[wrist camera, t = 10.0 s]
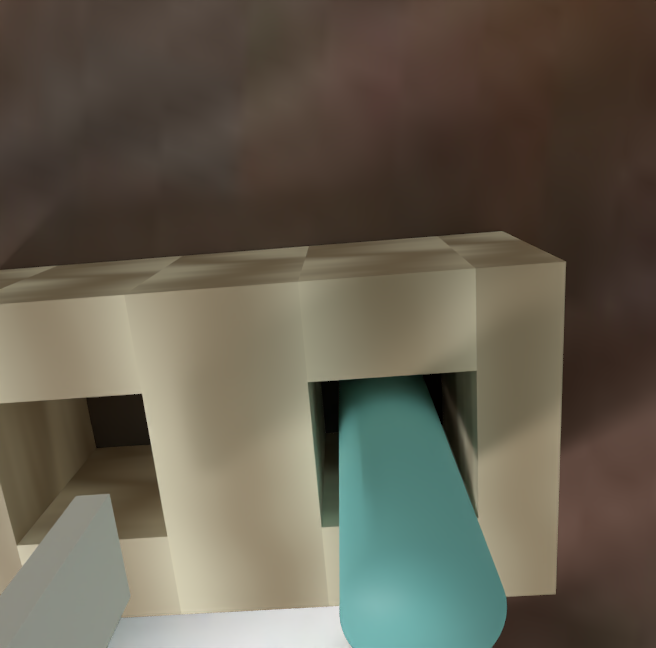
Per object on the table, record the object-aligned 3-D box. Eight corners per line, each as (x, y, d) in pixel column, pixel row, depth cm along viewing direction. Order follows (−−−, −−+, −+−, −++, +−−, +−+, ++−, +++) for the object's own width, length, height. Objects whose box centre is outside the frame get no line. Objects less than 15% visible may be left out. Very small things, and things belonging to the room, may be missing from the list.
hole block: (54, 512, 24) (-35, 625, 18) (-4, 270, 21) (-130, 314, 16) (502, 485, 23) (555, 593, 18) (502, 231, 21) (565, 261, 15)
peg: (341, 413, 23) (345, 682, 11) (335, 338, 22) (333, 545, 10) (420, 408, 23) (506, 674, 11) (417, 332, 22) (507, 535, 10)
